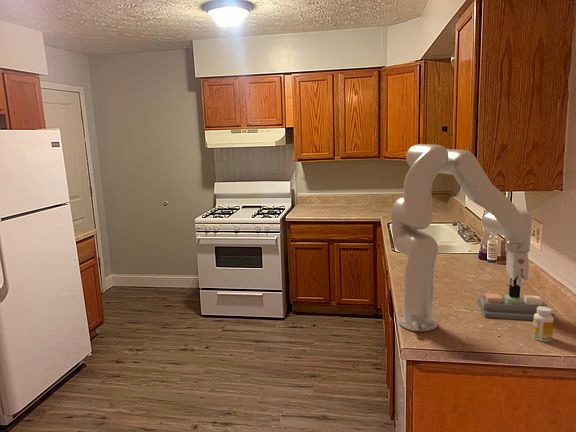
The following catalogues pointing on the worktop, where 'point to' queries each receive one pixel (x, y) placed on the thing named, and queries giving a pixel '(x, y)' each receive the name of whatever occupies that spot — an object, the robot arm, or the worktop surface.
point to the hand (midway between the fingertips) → (514, 296)
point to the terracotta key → (493, 298)
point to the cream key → (533, 300)
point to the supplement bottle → (543, 324)
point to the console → (508, 309)
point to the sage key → (512, 299)
